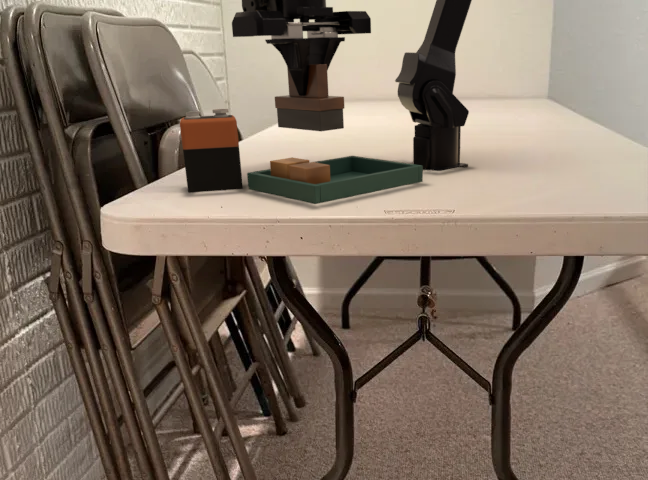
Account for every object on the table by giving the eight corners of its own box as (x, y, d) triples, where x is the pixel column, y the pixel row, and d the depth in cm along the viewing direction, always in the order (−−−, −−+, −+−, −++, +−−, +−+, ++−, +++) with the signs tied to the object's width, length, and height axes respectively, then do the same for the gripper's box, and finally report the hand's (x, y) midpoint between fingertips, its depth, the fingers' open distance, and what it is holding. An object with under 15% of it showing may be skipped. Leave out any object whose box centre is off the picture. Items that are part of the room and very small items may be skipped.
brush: (300, 124, 101) (296, 63, 98) (345, 128, 94) (342, 63, 91) (276, 127, 98) (271, 64, 95) (321, 131, 92) (317, 65, 89)
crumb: (314, 190, 88) (312, 161, 87) (331, 194, 86) (330, 164, 84) (290, 194, 86) (288, 165, 85) (307, 199, 83) (305, 168, 82)
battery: (243, 192, 91) (235, 110, 87) (188, 196, 89) (178, 112, 86) (241, 186, 95) (234, 107, 91) (188, 189, 93) (179, 109, 90)
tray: (353, 173, 102) (352, 155, 101) (422, 185, 92) (422, 165, 91) (248, 192, 91) (246, 172, 90) (315, 208, 81) (314, 185, 80)
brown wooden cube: (271, 189, 90) (294, 185, 92) (288, 192, 87) (311, 188, 89) (269, 160, 88) (292, 157, 91) (286, 163, 86) (309, 160, 88)
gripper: (316, -29, 100) (322, 88, 106) (200, -35, 88) (214, 98, 94) (372, -36, 93) (375, 90, 99) (253, -44, 81) (265, 101, 87)
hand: (308, 95), depth 95 cm, fingers closed on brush, 2 cm apart
